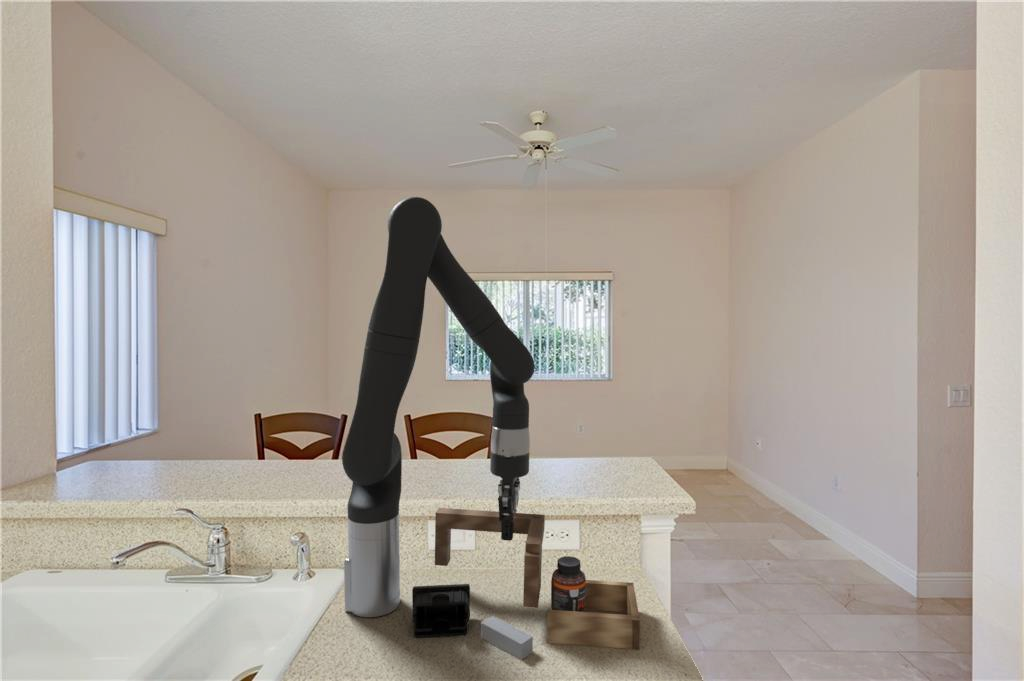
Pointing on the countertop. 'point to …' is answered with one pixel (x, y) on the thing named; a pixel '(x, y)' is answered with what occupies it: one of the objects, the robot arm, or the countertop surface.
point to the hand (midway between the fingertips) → (508, 535)
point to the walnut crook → (491, 523)
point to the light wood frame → (599, 618)
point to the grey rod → (507, 637)
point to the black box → (441, 610)
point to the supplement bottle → (568, 586)
